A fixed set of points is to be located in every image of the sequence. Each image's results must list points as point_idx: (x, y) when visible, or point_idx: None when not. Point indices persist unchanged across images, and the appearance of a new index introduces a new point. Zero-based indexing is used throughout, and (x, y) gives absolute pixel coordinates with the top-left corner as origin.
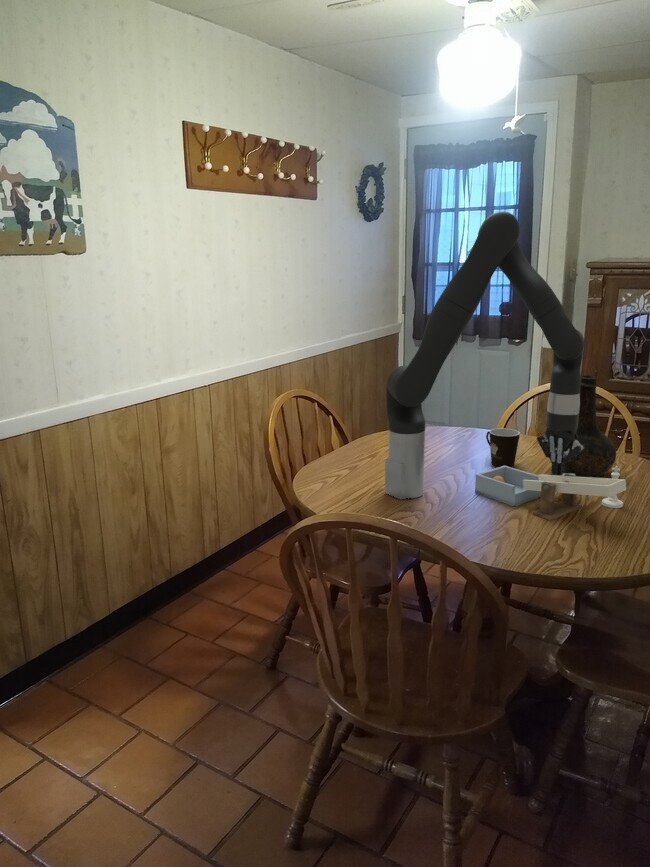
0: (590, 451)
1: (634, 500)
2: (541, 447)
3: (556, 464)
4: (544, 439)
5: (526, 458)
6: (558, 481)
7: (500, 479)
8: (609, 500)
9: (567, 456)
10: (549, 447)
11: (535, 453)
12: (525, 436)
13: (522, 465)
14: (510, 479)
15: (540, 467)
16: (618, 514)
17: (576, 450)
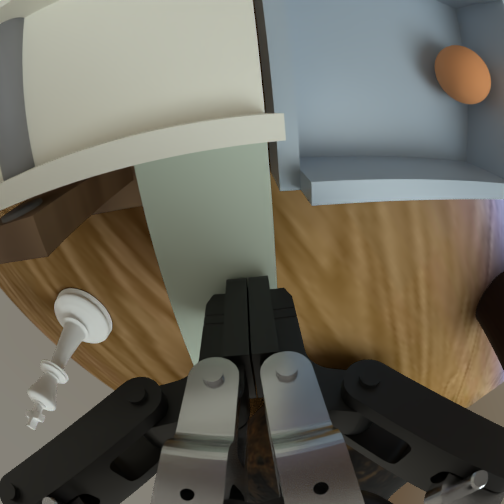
0: (262, 482)
1: (99, 369)
2: (463, 412)
3: (243, 343)
4: (466, 496)
5: (458, 364)
6: (71, 152)
7: (461, 60)
8: (72, 314)
9: (107, 434)
10: (395, 454)
11: (446, 389)
12: (469, 403)
13: (459, 335)
14: (455, 164)
15: (420, 361)
16: (20, 264)
17: (20, 480)
